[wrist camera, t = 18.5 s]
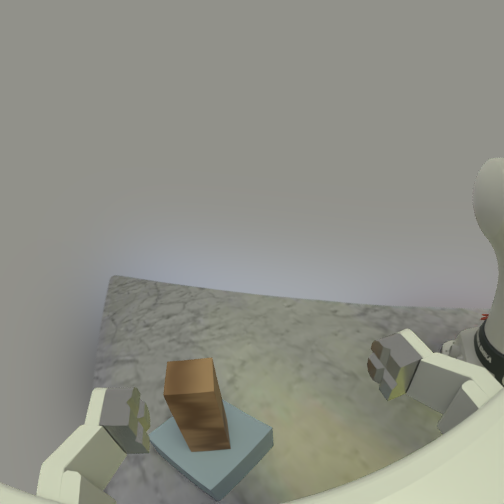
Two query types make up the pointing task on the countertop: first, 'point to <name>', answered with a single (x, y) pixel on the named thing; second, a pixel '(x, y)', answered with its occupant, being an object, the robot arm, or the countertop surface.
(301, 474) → the countertop surface
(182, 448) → the slate block
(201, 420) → the walnut block
